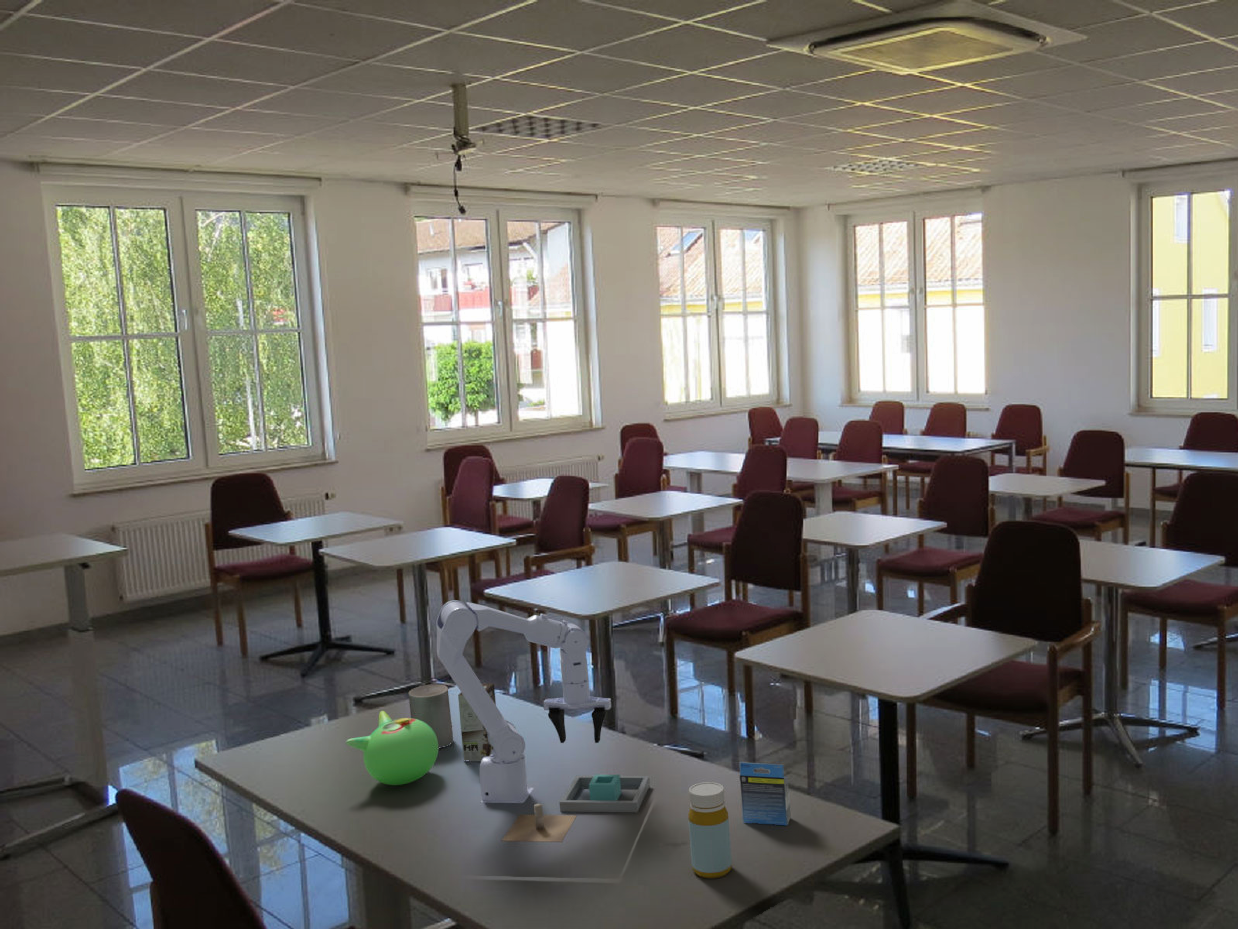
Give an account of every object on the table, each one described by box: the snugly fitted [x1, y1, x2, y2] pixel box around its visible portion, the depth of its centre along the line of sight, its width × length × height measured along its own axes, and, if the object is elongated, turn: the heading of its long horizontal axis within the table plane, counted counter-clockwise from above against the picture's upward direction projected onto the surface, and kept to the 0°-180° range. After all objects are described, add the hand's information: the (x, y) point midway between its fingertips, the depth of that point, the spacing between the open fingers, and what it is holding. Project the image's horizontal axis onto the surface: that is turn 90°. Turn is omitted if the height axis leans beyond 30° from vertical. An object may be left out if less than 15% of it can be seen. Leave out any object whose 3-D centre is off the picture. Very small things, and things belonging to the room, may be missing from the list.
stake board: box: [501, 803, 578, 843], centre depth 222 cm, size 12×12×5 cm
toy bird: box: [345, 710, 439, 786], centre depth 254 cm, size 18×17×15 cm
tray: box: [559, 775, 651, 813], centre depth 235 cm, size 16×14×2 cm
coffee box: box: [457, 682, 497, 762], centre depth 267 cm, size 9×6×16 cm
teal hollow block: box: [588, 774, 622, 801], centre depth 235 cm, size 5×7×4 cm
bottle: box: [688, 781, 733, 879], centre depth 199 cm, size 7×7×15 cm
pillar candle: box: [408, 683, 454, 748], centre depth 277 cm, size 10×10×15 cm
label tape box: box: [739, 761, 792, 826], centre depth 218 cm, size 9×4×12 cm, turn 71°
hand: (580, 741), depth 244 cm, fingers open, 7 cm apart
